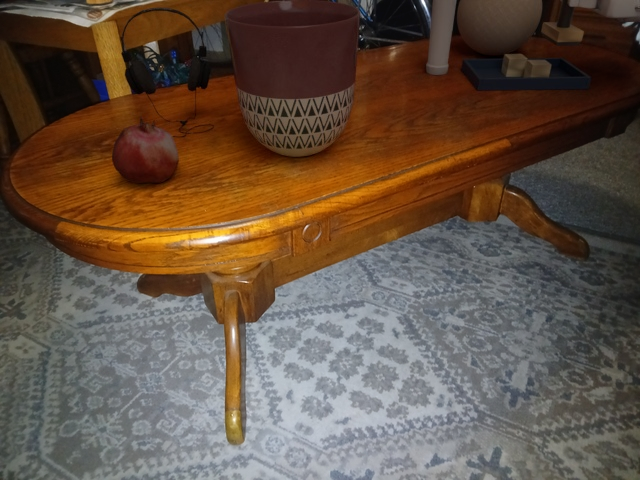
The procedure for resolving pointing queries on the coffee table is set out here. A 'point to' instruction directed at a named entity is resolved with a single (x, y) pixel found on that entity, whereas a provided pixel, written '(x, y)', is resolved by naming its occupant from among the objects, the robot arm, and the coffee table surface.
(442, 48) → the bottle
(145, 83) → the headphones
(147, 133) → the fruit
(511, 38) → the decorative sphere
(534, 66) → the beige cube
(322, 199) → the coffee table surface
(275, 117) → the planter
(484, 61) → the tray
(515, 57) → the crumb
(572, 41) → the brush
